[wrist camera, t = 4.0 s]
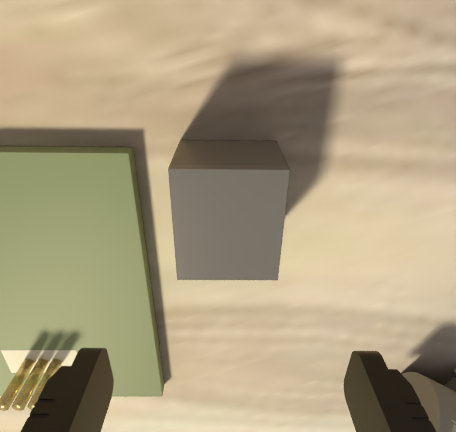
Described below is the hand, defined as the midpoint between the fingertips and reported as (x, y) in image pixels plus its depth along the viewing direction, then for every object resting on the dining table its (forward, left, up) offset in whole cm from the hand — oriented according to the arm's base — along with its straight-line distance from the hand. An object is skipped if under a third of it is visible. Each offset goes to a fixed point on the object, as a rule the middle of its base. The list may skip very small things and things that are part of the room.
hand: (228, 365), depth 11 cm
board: (+9, -16, -13) cm, 23 cm away
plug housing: (0, 0, -13) cm, 13 cm away
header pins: (+16, -16, -12) cm, 25 cm away
